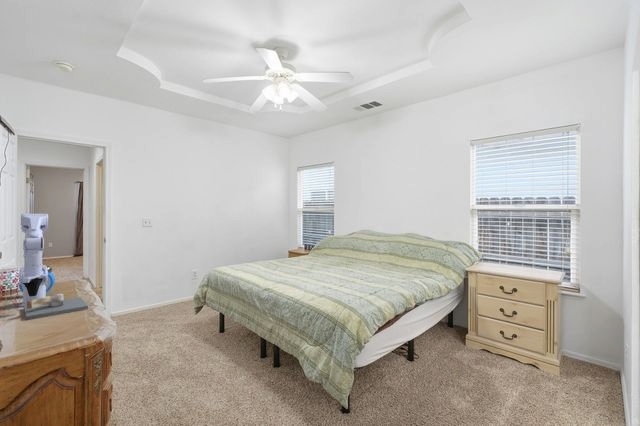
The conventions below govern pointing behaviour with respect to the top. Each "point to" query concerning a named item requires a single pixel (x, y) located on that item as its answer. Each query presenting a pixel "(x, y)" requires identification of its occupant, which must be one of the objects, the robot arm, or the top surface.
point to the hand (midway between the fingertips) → (33, 295)
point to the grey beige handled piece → (46, 301)
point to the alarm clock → (49, 282)
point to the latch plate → (56, 308)
